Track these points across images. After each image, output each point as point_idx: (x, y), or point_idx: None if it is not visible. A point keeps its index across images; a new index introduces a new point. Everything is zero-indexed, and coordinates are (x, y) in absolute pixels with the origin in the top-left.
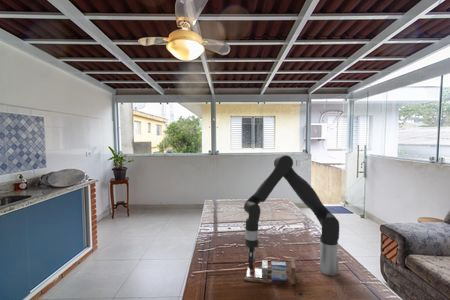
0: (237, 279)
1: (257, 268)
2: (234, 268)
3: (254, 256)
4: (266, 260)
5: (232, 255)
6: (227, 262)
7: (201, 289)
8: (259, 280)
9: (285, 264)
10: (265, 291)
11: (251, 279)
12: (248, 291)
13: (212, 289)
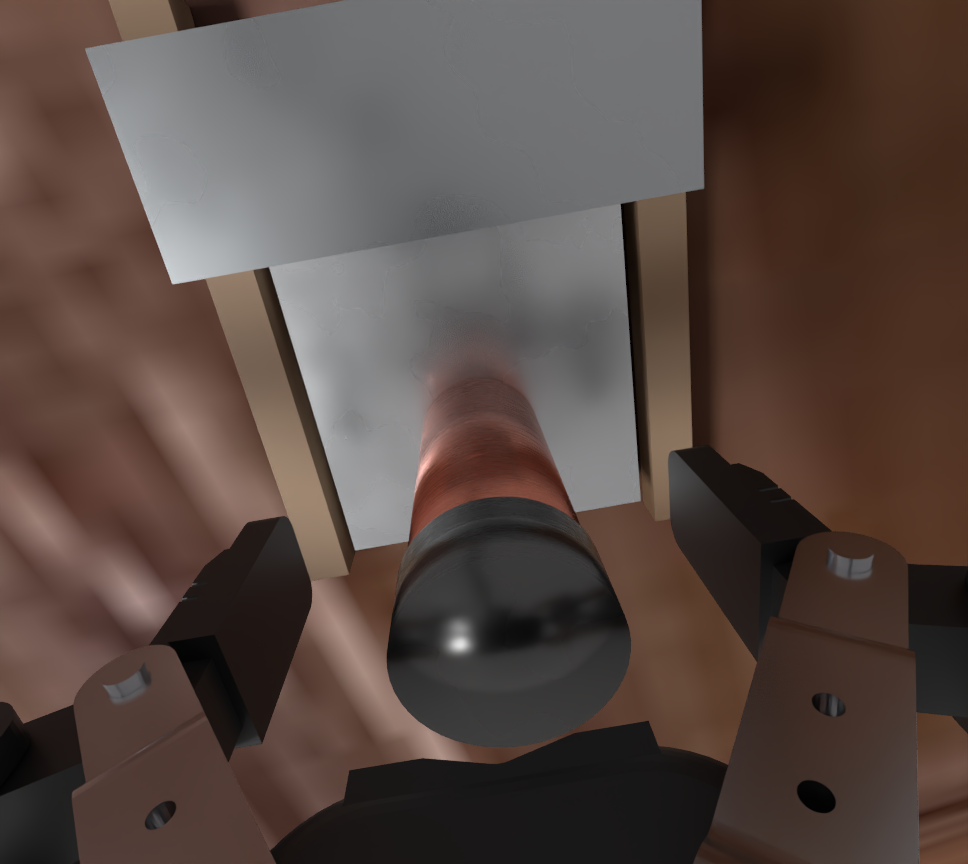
0: (670, 587)
1: (273, 371)
2: (394, 704)
3: (779, 681)
4: (107, 103)
5: None
6: (279, 822)
7: (931, 839)
8: (683, 230)
9: None
10: (959, 35)
11: (688, 389)
12: (962, 354)
13: (928, 760)
